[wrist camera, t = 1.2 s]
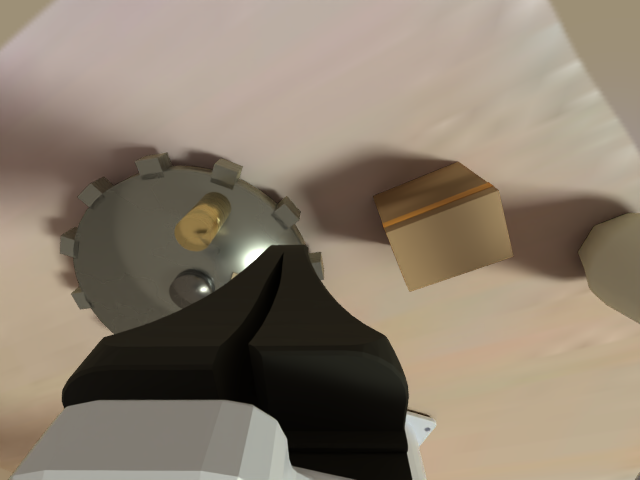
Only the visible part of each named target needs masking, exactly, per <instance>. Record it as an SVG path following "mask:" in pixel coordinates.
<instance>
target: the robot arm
mask: <svg viewBox="0 0 640 480" xmlns="http://www.w3.org/2000/svg"><path fill="white" fill-rule="evenodd" d="M408 399H409V394H408V385H407V381H406V377H405V375H404V372H403V369H402V367H401V364H400V362H399V360H398V358H397V356H396V354H395V351H394V350H393V348H392V346H391V344H390V342H389V340H388V339H387V337H386V336H385V335H383V334H381V333H380V332H378V331H376V330H374V329H372V328H370V327H369V326H367V325H365V324H363V323H362V322H361V321H359V320H358V319H356V318H355V317H353V316H352V315H351V314H350V313H349V312H347V311H346V310H345V309H344V308H343V307H342V306H341V305H340V304H339V303H338V302H337V301H336V300H335V299H334V298H333V297H332V295H331V294H330V293H329V292H328V290H327V289H326V288H325V286H324V285H323V283H322V282H321V280H320V279H319V277H318V275H317V274H316V272H315V270H314V268H313V266H312V263H311V261H310V258H309V255H308V247H307V246H306V245H270V246H269V247H268V248H267V249H266V250H265V251H264V252H263V253H262V254H261V255H259V256H258V257H257V258H256V259H255V260H254V261H253V262H252V263H251V264H250V265H248V266H247V267H246V268H245V269H244V270H243V271H241V272H240V273H239V274H238V275H236V276H235V277H234V278H233V279H231V280H230V281H229V282H227V283H226V284H225V285H223V286H222V287H220V288H219V289H217V290H216V291H214V292H212V293H211V294H209V295H208V296H206V297H204V298H202V299H201V300H199V301H197V302H195V303H193V304H191V305H189V306H187V307H185V308H183V309H181V310H179V311H177V312H175V313H172V314H170V315H168V316H165V317H163V318H161V319H158V320H155V321H153V322H150V323H148V324H145V325H142V326H139V327H136V328H133V329H130V330H127V331H123V332H120V333H117V334H114V335H111V336H107V337H104V338H103V339H102V340H101V341H100V342H99V343H98V344H97V346H96V347H95V348H94V349H93V350H92V352H91V353H90V354H89V355H88V356H87V358H86V359H85V360H84V361H83V362H82V364H81V365H80V366H79V367H78V368H77V370H76V371H75V372H74V373H73V374H72V376H71V377H70V378H69V379H68V381H67V383H66V384H65V386H64V388H63V390H62V403H63V406H64V410H63V411H62V412H61V413H60V414H59V415H58V416H57V418H56V419H55V420H54V421H53V422H52V423H51V425H50V426H49V427H48V429H47V430H46V431H45V432H44V434H43V435H42V436H41V438H40V439H39V440H38V441H37V443H36V444H35V445H34V447H33V448H32V449H31V450H30V452H29V453H28V454H27V456H26V457H25V458H24V459H23V461H22V462H21V463H20V465H19V466H18V467H17V469H16V470H15V471H14V472H13V474H12V475H11V476H10V478H9V479H8V480H427V478H426V474H425V470H424V466H423V462H422V458H421V454H420V449H419V446H420V445H421V444H422V442H423V441H424V440H425V439H426V438H427V436H428V435H429V434H430V433H431V432H432V430H433V429H434V428H435V427H436V421H435V420H434V419H433V418H430V417H427V416H423V415H420V414H416V413H413V412H409V411H407V407H408ZM635 480H640V473H639V474H638V475H637V477H636V479H635Z"/></svg>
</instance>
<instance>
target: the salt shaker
mask: <svg viewBox="0 0 640 480" xmlns="http://www.w3.org/2000/svg"><path fill="white" fill-rule="evenodd" d="M578 254H579V256H580V259H581V262H582V264H583V267H584V270H585V273H586V277H587V282H588V286H589V288H590V289H591V291H592V292H593V293H594V294H595V295H596V296H597V297H598V298H599V299H600V300H601V301H603V302H604V303H605V304H606V305H607V306H609V307H611V308H613V309H614V310H616V311H618V312H620V313H622V314H623V315H625V316H627V317H629V318H630V319H632V320H634V321H636V322H637V323H639V324H640V213H626V214H624V215H621V216H619V217H616V218H613V219H611V220H608V221H606V222H603V223H600V224H598V225H595V226H594V227H593V228H592V230H591V232H590V233H589V235H588V237H587V238H586V240H585V241H584V243H583V245H582V246H581V248H580V249H579V251H578Z"/></svg>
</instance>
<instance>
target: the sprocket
mask: <svg viewBox="0 0 640 480" xmlns="http://www.w3.org/2000/svg"><path fill="white" fill-rule="evenodd" d="M135 164H136V166H137V169H138V171H139V173H138V174H136V175H133V176H131V177H129V178H127V179H126V180H124V181H122V182H120V183H119V184H117V185H115V186H114V185H113V184H112V183H110V182H109V181H108V180H107V179H106V178H105V177H102V178H100V179H98V180H96V181H94V182H92V183H90V184H89V185H88V186H87V187H86V188H85V189H84V191H83V192H82V193H81V194H80V195H79V196H78V198H79V199H80V200H81V201H82V202H84V203H85V204H86V205H87V206H88V207H89V208H88V209H87V211H86V212H85V214H84V216H83V218H82V219H81V221H80V223H79V226H78V228H77V227H74V228H72V229H71V230H69V231H68V232H66V233H64V234H63V235H61V242H60V253H61V254H64V255H67V256H70V257H73V262H74V268H75V273H76V277H77V280H78V283H79V287H78V288H77V289H76V290H75V291H73V292H72V293H71V295H72V296H73V298H74V300H75V302H76V303H77V305H78V307H79V308H80V309H87V308H91V309H92V310H93V312H94V313H95V314H96V315H97V317H98V318H99V319H100V320H101V322H102V323H103V324H104V325H105V326H106V327H107V328H108V329H109V330H110V331H111V332H112V333H114V334H117V333H120V332H123V331H127V330H130V329H133V328H136V327H139V326H142V325H145V324H148V323H150V322H153V321H155V320H158V319H161V318H163V317H165V316H168V315H170V314H172V313H175V312H177V311H179V310H181V309H183V308H185V307H187V306H189V305H191V304H193V303H195V302H197V301H199V300H201V299H202V298H204V297H206V296H208V295H209V294H211V293H212V292H214V291H216V290H217V289H219V288H220V287H222V286H223V285H225V284H226V283H227V282H229V281H230V280H231V279H233V278H234V277H235V276H236V275H238V274H239V273H240V272H241V271H243V270H244V269H245V268H246V267H247V266H248V265H250V264H251V263H252V262H253V261H254V260H255V259H256V258H257V257H258V256H259V255H261V254H262V253H263V252H264V251H265V250H266V249H267V248H268V247H269V246H270V245H306V244H305V242H304V240H303V237H302V235H301V234H300V232H299V230H298V229H297V227H296V225H295V223H296V222H297V221H299V219H300V213H301V211H300V210H299V209H298V208H297V207H296V206H295V205H294V204H293V203H292V201H291V200H290V199H289V198H288V197H287V196H286V197H285V198H284V199H283V200H281V201H280V202H279V203H276V202H275V201H273V200H272V199H271V198H270V197H268V196H267V195H266V194H264V193H263V192H262V191H260V190H259V189H257V188H256V187H254V186H252V185H250V184H249V183H247V182H245V181H243V180H241V179H239V178H240V175H241V171H242V168H243V166H241V165H238V164H235V163H233V162H230V161H227V160H225V159H222V158H221V159H220V160H218V161H217V162H216V163H215V164H214V168H213V169H208V168H202V167H196V166H172V164H171V161H170V158H169V156H168V153H160V154H154V155H148V156H145V157H142V158H140V159H138V160H136V161H135ZM308 255H309V258H310V261H311V263H312V266H313V268H314V270H315V272H316V274H317V275H318V277H319V279H320V280H324V266H323V261H322V255H321V252H316V253H309V252H308Z"/></svg>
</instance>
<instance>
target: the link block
mask: <svg viewBox="0 0 640 480" xmlns="http://www.w3.org/2000/svg"><path fill="white" fill-rule="evenodd" d="M373 198H374V201H375V204H376V207H377V209H378V212H379V215H380V218H381V220H382V224H383V227H384V230H385V232H386V235H387V237H388V240H389V242H390V245H391V247H392V250H393V252H394V255H395V257H396V260H397V263H398V265H399V268H400V270H401V273H402V275H403V278H404V280H405V283H406V285H407V287H408V290H409V292H411V291H414V290H417V289H420V288H423V287H425V286H428V285H431V284H434V283H437V282H440V281H443V280H446V279H449V278H452V277H455V276H458V275H461V274H464V273H467V272H470V271H473V270H476V269H479V268H482V267H484V266H487V265H490V264H493V263H496V262H499V261H502V260H505V259H508V258H511V257H514V256H513V252H512V248H511V243H510V239H509V234H508V230H507V225H506V221H505V216H504V212H503V207H502V203H501V198H500V194H499V190H498V189H496V188H495V187H494V186H493V185H492V184H490V183H489V182H486V181H485V180H483V179H482V178H481V177H479V176H478V175H476V174H475V173H474V172H472V171H471V170H469V169H468V168H467V167H465V166H464V165H462V164H461V163H460V162H456V163H454V164H451V165H449V166H446V167H444V168H441V169H439V170H436V171H434V172H431V173H429V174H427V175H424V176H422V177H419V178H417V179H414V180H412V181H409V182H407V183H404V184H402V185H399V186H397V187H394V188H392V189H389V190H387V191H384V192H382V193H379V194H377V195H375V196H373Z"/></svg>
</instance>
